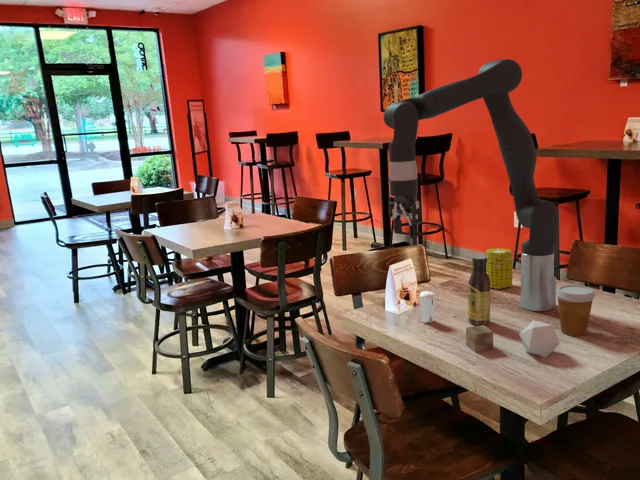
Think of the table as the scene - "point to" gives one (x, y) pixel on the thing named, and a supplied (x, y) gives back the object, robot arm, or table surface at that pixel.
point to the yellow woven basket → (499, 268)
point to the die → (539, 338)
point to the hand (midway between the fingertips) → (405, 235)
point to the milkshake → (427, 306)
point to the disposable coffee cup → (574, 308)
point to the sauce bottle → (479, 292)
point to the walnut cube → (479, 338)
